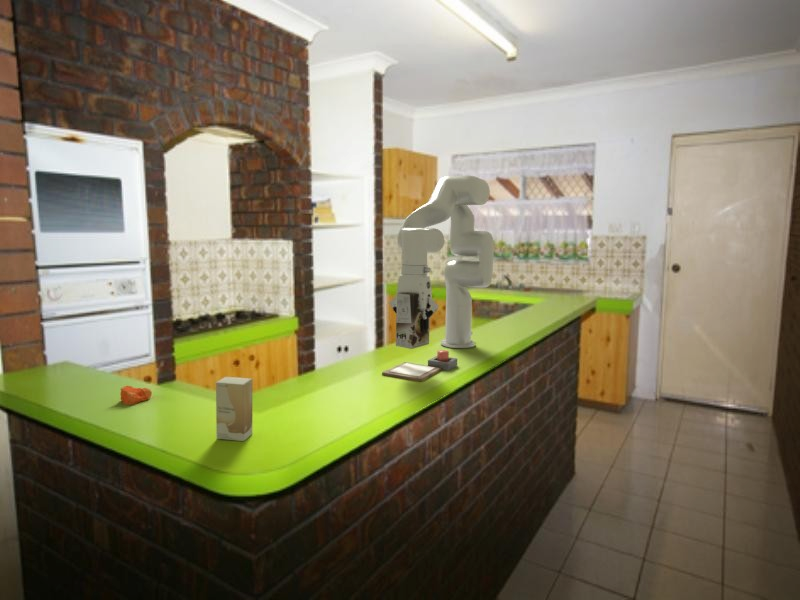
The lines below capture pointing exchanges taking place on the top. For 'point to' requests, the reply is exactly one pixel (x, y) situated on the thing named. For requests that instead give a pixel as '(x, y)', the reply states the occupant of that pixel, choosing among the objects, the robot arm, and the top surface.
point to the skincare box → (234, 408)
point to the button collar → (443, 363)
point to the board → (412, 371)
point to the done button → (443, 355)
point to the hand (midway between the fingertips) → (413, 329)
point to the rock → (134, 395)
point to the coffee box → (409, 322)
